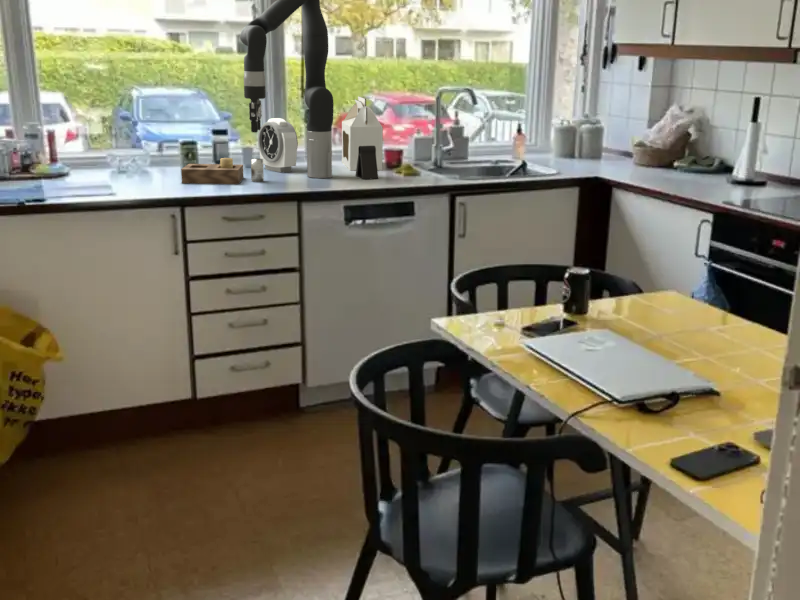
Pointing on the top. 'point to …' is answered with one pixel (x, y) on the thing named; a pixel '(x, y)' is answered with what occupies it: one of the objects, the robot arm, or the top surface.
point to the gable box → (360, 134)
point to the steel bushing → (257, 170)
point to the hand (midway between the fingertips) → (256, 131)
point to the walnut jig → (213, 173)
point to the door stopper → (367, 163)
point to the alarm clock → (278, 145)
